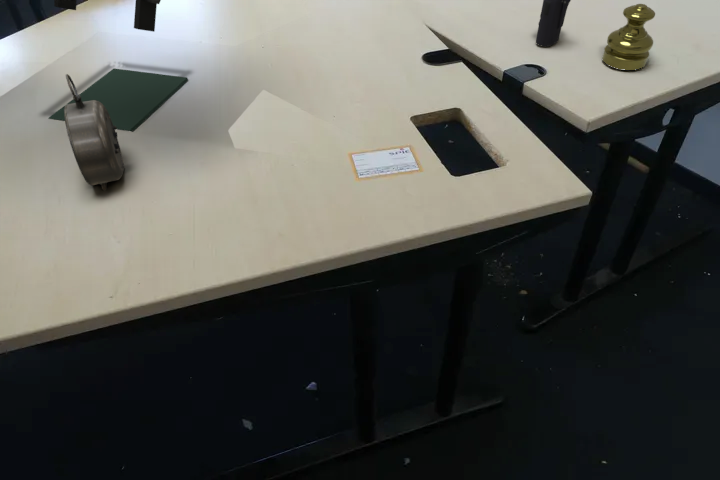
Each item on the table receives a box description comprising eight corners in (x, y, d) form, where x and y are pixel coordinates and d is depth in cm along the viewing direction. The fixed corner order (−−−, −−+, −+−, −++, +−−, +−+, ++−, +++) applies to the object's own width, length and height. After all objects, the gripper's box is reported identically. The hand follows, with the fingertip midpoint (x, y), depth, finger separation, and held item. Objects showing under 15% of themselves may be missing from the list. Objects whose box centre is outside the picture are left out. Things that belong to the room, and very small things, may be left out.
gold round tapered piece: (629, 50, 98) (647, -6, 91) (654, 68, 93) (675, 10, 86) (593, 56, 97) (608, 0, 90) (616, 75, 92) (635, 17, 85)
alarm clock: (94, 163, 80) (45, 61, 68) (131, 155, 81) (89, 53, 70) (96, 207, 72) (41, 101, 61) (137, 197, 74) (90, 91, 62)
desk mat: (49, 121, 89) (47, 118, 89) (114, 71, 101) (113, 68, 101) (130, 133, 85) (129, 130, 85) (188, 80, 97) (187, 77, 97)
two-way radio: (546, 35, 104) (564, -48, 94) (567, 42, 102) (587, -43, 91) (531, 45, 102) (547, -40, 91) (552, 52, 99) (571, -34, 89)
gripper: (221, -150, 61) (200, 42, 68) (63, -172, 69) (59, 4, 76) (176, -180, 54) (157, 36, 62) (6, -200, 62) (8, -5, 69)
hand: (103, 19), depth 69 cm, fingers open, 13 cm apart
